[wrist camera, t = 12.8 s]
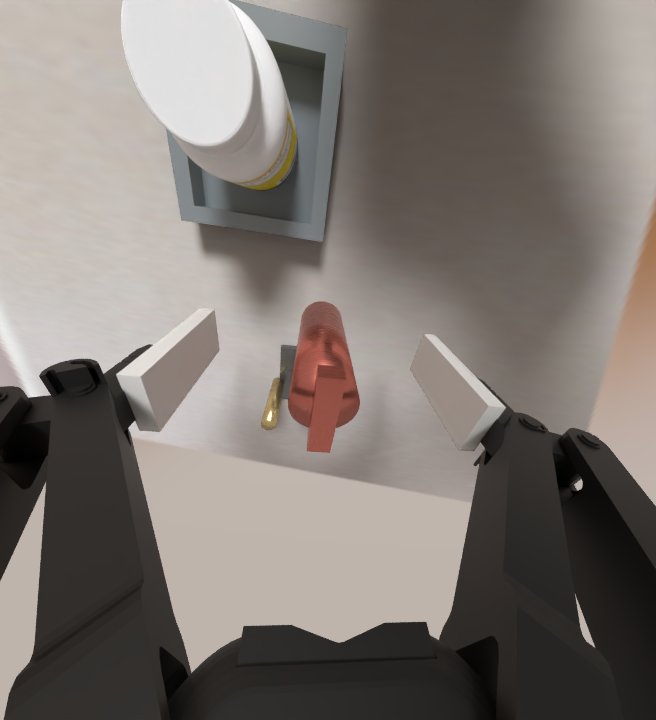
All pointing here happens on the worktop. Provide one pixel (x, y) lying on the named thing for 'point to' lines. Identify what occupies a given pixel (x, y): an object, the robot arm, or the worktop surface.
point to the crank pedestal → (279, 387)
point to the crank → (322, 377)
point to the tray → (314, 130)
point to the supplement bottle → (213, 87)
